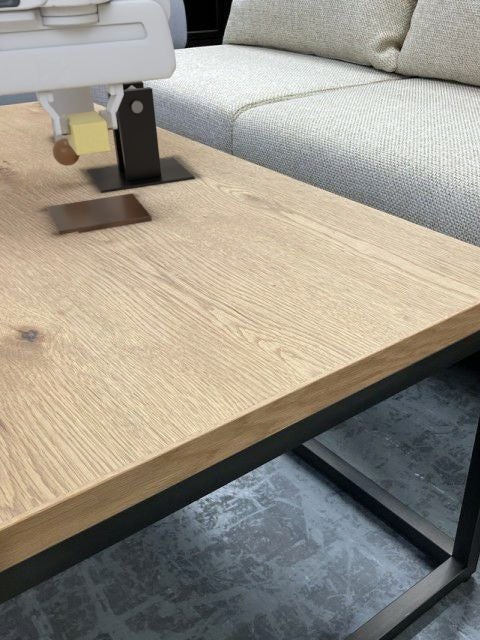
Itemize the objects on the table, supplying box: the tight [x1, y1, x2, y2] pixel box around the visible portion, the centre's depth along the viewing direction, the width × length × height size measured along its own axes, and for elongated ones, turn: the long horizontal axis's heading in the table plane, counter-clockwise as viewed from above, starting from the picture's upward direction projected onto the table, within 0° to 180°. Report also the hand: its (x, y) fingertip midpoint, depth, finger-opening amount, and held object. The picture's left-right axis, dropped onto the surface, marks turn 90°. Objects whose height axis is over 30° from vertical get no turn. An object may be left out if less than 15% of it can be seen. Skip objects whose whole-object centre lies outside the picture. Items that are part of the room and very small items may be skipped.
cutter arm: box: [52, 85, 136, 167], centre depth 86 cm, size 13×3×3 cm
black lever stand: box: [85, 81, 195, 194], centre depth 88 cm, size 12×9×12 cm
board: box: [46, 193, 152, 235], centre depth 79 cm, size 10×8×2 cm
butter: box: [67, 110, 112, 156], centre depth 74 cm, size 4×5×3 cm
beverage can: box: [48, 86, 96, 143], centre depth 102 cm, size 6×6×12 cm
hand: (86, 131), depth 74 cm, fingers closed on butter, 3 cm apart
